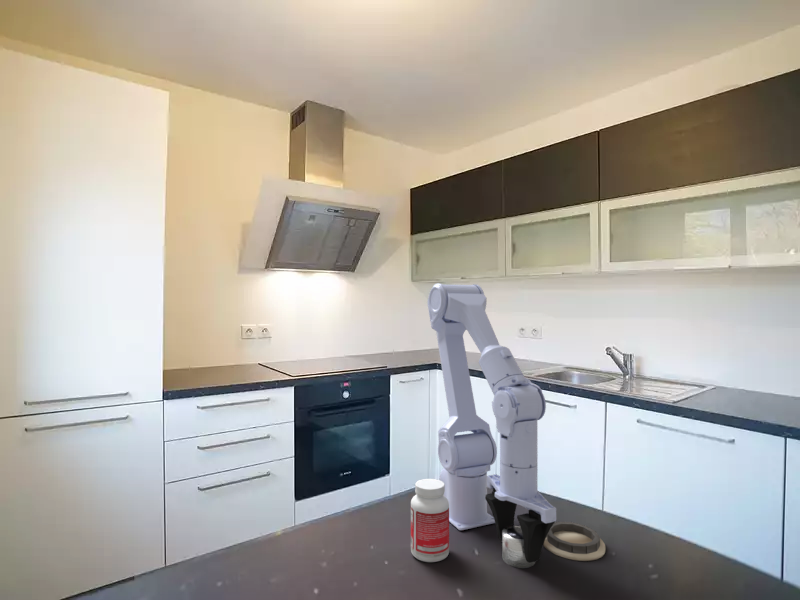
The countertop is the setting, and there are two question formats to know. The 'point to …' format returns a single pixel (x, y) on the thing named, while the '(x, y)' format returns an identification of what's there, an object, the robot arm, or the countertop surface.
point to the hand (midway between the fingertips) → (518, 549)
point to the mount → (574, 542)
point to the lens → (514, 547)
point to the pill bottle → (430, 521)
